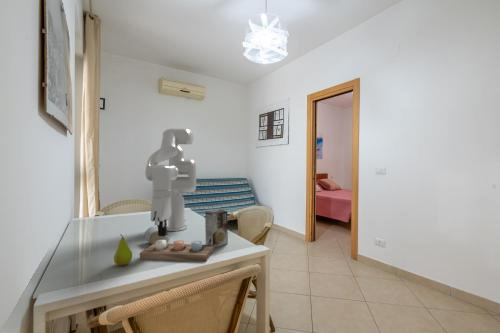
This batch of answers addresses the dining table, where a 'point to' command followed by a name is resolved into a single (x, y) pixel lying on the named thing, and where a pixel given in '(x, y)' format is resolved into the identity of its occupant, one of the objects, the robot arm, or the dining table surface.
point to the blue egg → (196, 246)
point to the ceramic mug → (154, 235)
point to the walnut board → (177, 253)
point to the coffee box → (216, 228)
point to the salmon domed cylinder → (178, 245)
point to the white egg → (160, 245)
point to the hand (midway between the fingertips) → (162, 235)
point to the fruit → (122, 253)
